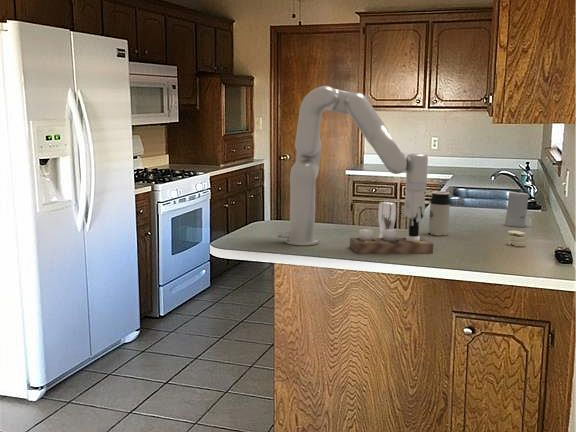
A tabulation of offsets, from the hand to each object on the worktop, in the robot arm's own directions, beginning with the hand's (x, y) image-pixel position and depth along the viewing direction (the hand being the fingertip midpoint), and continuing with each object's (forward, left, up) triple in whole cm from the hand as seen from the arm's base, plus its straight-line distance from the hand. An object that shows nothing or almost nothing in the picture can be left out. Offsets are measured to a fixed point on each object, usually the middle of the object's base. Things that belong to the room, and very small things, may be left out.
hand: (413, 236), depth 237 cm
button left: (-18, 0, -2) cm, 18 cm away
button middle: (-9, 0, -2) cm, 9 cm away
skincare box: (+69, +52, -5) cm, 86 cm away
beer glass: (-5, +17, -5) cm, 19 cm away
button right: (0, 0, -4) cm, 4 cm away
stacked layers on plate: (+45, +7, -5) cm, 45 cm away
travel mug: (+22, +30, -5) cm, 38 cm away
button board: (-9, -2, -5) cm, 11 cm away
